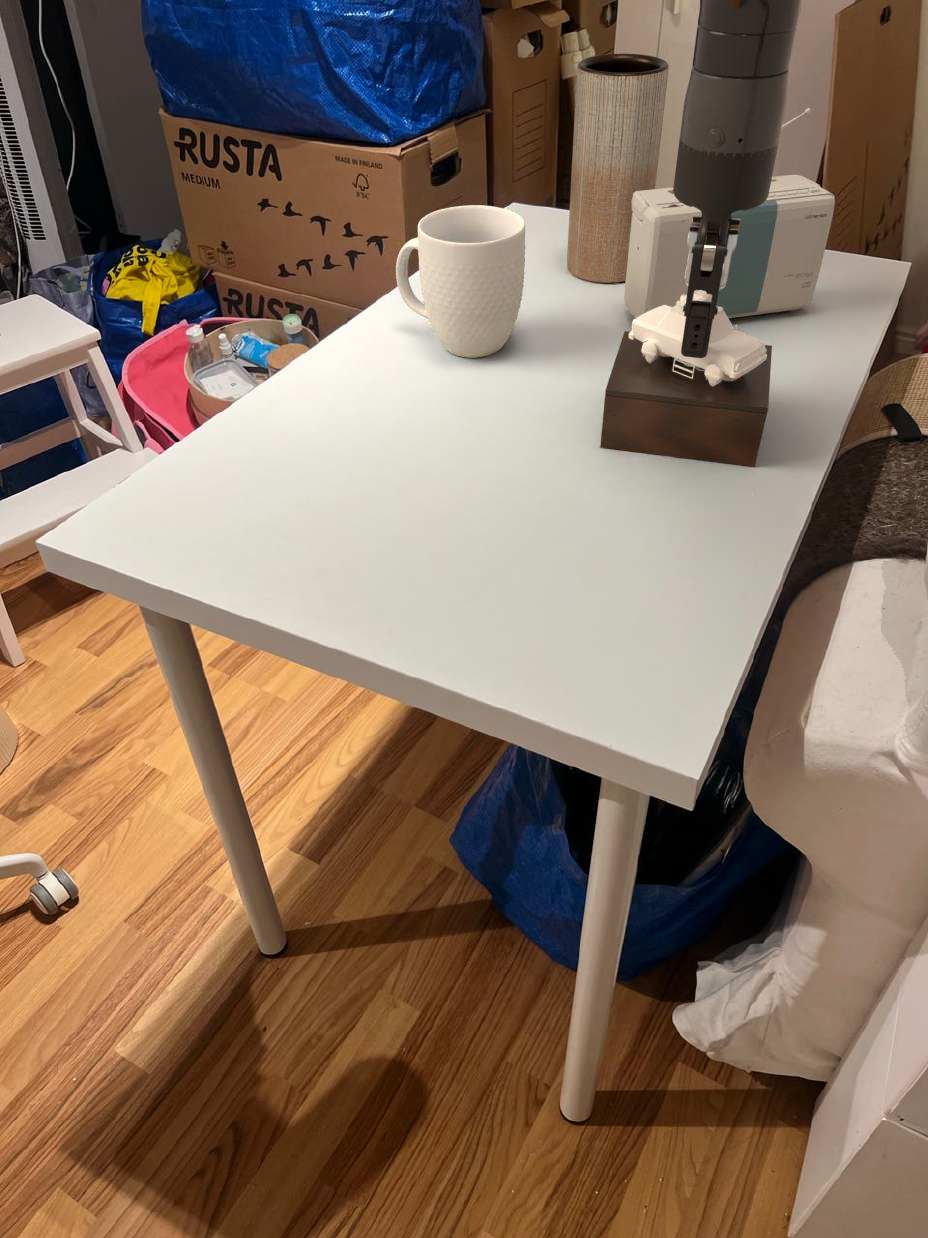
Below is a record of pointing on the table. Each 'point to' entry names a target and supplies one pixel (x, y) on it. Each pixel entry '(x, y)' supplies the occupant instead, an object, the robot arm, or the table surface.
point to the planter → (612, 158)
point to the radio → (763, 259)
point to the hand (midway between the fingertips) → (697, 335)
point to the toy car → (725, 350)
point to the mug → (467, 276)
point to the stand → (683, 409)
